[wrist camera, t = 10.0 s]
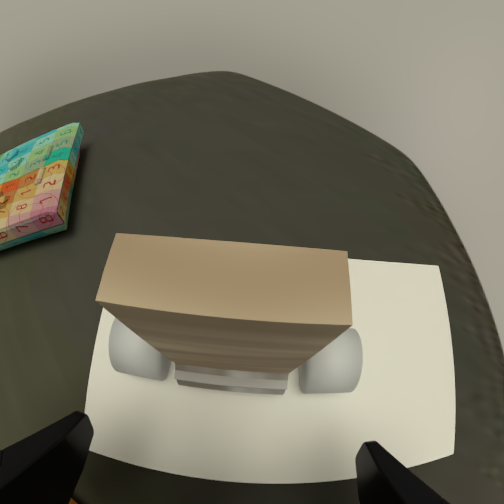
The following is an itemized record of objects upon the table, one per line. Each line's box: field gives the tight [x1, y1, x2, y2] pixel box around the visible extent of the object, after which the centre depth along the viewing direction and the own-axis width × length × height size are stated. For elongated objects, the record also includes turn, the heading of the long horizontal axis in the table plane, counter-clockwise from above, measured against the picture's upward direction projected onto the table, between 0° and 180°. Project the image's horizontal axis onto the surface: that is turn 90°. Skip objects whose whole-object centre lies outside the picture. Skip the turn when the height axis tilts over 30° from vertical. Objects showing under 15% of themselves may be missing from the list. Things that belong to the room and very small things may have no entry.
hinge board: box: [85, 259, 455, 484], centre depth 14 cm, size 14×23×4 cm, turn 86°
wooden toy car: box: [96, 233, 353, 395], centre depth 10 cm, size 3×5×11 cm
